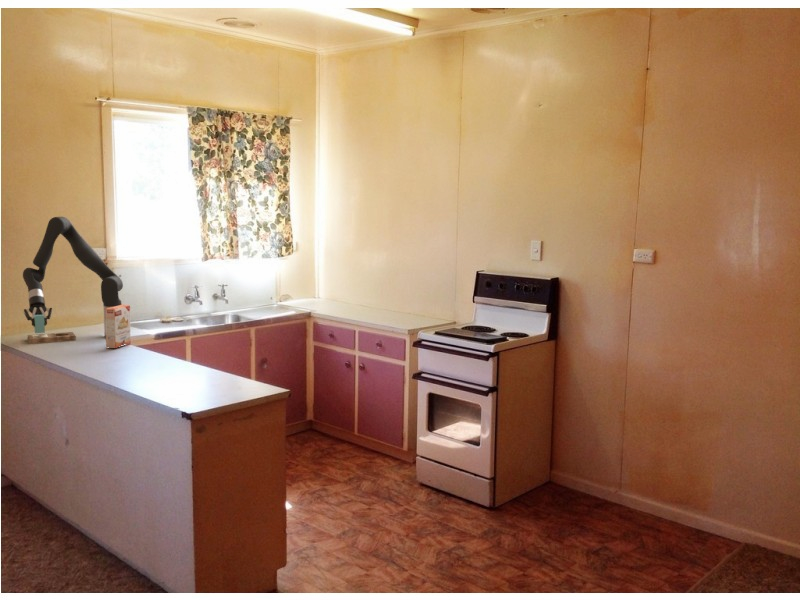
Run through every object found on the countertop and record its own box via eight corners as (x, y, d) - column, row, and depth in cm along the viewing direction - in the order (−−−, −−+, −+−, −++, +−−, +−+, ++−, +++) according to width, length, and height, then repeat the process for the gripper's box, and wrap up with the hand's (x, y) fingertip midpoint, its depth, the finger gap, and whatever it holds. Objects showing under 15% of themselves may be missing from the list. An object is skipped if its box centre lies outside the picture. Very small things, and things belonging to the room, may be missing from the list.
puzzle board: (72, 337, 397) (72, 331, 396) (75, 341, 387) (75, 335, 386) (27, 340, 386) (27, 334, 385) (29, 345, 375) (29, 338, 375)
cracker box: (116, 349, 370) (114, 309, 367) (105, 348, 371) (104, 308, 368) (131, 344, 383) (130, 305, 380) (121, 343, 384) (120, 304, 381)
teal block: (44, 331, 386) (43, 314, 384) (44, 332, 382) (44, 315, 380) (34, 331, 383) (33, 314, 382) (35, 333, 380) (34, 316, 378)
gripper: (21, 295, 382) (24, 322, 374) (51, 294, 390) (55, 320, 381) (21, 304, 388) (24, 330, 379) (50, 302, 395) (54, 328, 387)
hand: (39, 325), depth 380 cm, fingers closed on teal block, 4 cm apart
